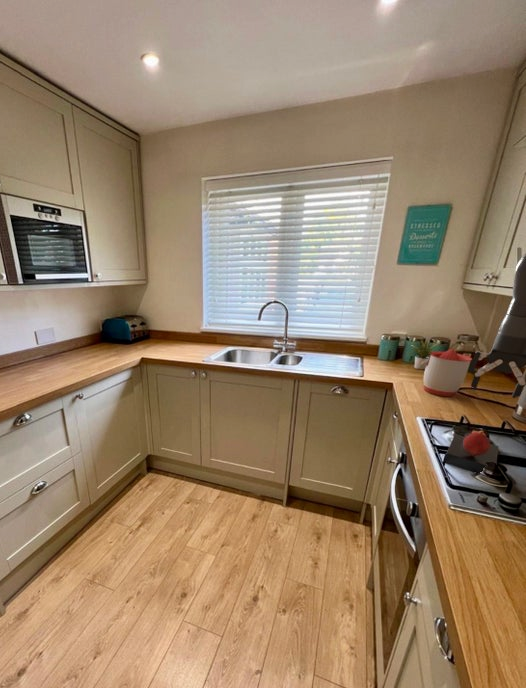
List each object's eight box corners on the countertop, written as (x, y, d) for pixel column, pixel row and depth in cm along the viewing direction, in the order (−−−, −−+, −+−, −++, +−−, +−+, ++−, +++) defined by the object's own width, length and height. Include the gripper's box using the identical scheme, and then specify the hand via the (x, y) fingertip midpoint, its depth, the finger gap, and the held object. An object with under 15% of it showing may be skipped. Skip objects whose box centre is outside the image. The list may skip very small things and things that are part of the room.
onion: (454, 450, 95) (463, 425, 92) (472, 450, 95) (481, 425, 92) (471, 461, 89) (481, 435, 86) (490, 461, 90) (500, 435, 87)
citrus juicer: (416, 383, 160) (428, 342, 153) (459, 391, 151) (474, 348, 143) (412, 392, 148) (425, 348, 141) (459, 401, 139) (475, 355, 132)
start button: (470, 434, 101) (472, 429, 100) (483, 438, 99) (485, 433, 98) (469, 438, 99) (471, 433, 98) (483, 442, 97) (485, 437, 96)
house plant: (425, 364, 192) (433, 336, 185) (441, 371, 179) (450, 342, 173) (401, 364, 191) (409, 336, 185) (416, 371, 178) (424, 341, 172)
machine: (451, 441, 106) (456, 428, 104) (495, 454, 100) (501, 440, 98) (443, 462, 94) (448, 447, 93) (491, 478, 88) (498, 462, 86)
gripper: (553, 336, 82) (526, 396, 89) (483, 327, 91) (463, 383, 97) (556, 340, 77) (528, 404, 83) (481, 331, 85) (460, 389, 92)
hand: (493, 392), depth 90 cm, fingers open, 8 cm apart
